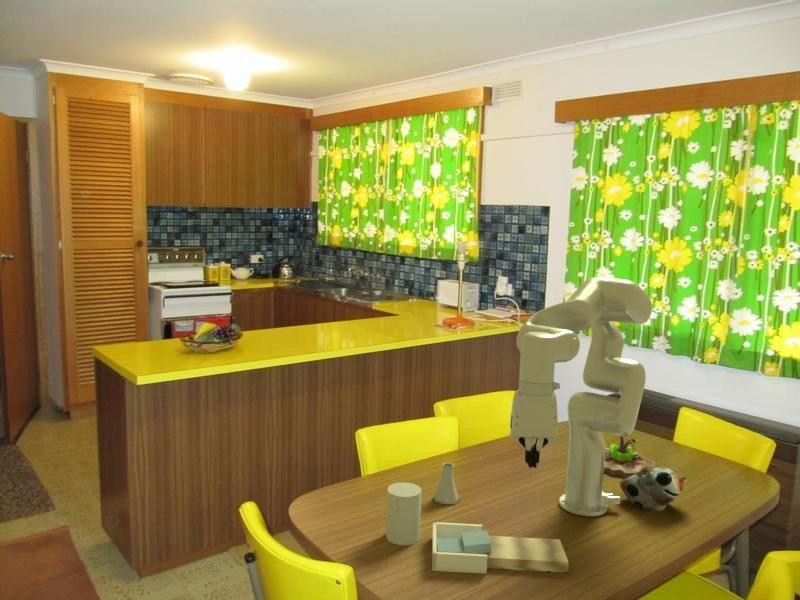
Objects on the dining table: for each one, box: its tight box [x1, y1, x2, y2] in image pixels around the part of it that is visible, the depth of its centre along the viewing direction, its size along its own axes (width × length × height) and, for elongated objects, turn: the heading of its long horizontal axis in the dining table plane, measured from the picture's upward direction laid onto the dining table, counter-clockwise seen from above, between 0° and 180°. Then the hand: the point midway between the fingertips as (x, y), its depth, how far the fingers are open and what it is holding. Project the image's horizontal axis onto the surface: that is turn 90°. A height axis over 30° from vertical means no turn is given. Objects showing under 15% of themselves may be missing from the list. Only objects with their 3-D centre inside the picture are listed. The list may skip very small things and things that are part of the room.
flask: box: [433, 462, 460, 505], centre depth 176 cm, size 7×7×10 cm
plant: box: [604, 435, 658, 479], centre depth 206 cm, size 20×20×11 cm
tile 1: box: [436, 538, 465, 553], centre depth 147 cm, size 6×6×2 cm
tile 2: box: [461, 529, 492, 554], centre depth 148 cm, size 6×6×2 cm
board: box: [484, 535, 570, 573], centre depth 147 cm, size 18×10×2 cm, turn 87°
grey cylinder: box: [385, 482, 422, 546], centre depth 155 cm, size 8×8×12 cm
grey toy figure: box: [619, 466, 687, 512], centre depth 177 cm, size 15×12×14 cm
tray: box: [431, 521, 488, 574], centre depth 148 cm, size 12×15×4 cm
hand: (531, 465), depth 147 cm, fingers closed
